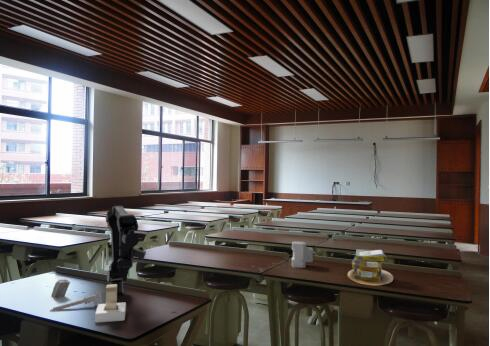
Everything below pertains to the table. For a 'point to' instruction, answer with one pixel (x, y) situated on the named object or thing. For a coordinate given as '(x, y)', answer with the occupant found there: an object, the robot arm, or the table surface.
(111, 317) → the socket block
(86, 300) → the caliper
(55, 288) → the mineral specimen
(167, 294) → the table surface
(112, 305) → the birch peg
